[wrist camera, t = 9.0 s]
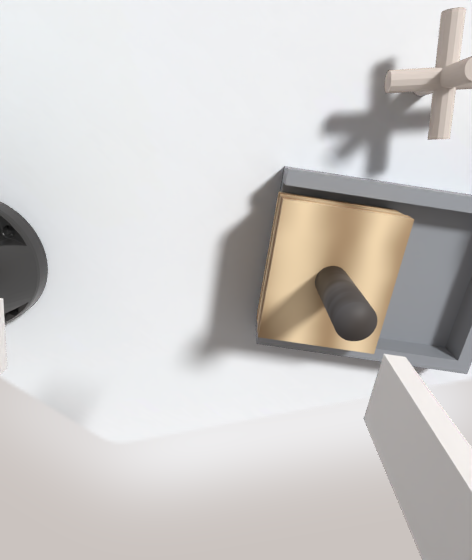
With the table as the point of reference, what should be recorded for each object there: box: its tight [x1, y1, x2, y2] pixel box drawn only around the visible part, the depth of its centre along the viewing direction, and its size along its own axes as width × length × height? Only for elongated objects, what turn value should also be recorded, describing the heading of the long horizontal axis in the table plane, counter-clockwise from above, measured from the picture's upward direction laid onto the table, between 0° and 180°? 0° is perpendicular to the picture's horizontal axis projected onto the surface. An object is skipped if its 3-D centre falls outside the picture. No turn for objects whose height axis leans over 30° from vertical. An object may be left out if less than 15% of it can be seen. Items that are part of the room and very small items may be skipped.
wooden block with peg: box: [257, 192, 414, 354], centre depth 36 cm, size 12×14×15 cm
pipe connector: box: [384, 7, 472, 140], centre depth 34 cm, size 10×10×10 cm
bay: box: [256, 167, 472, 374], centre depth 43 cm, size 24×19×4 cm
